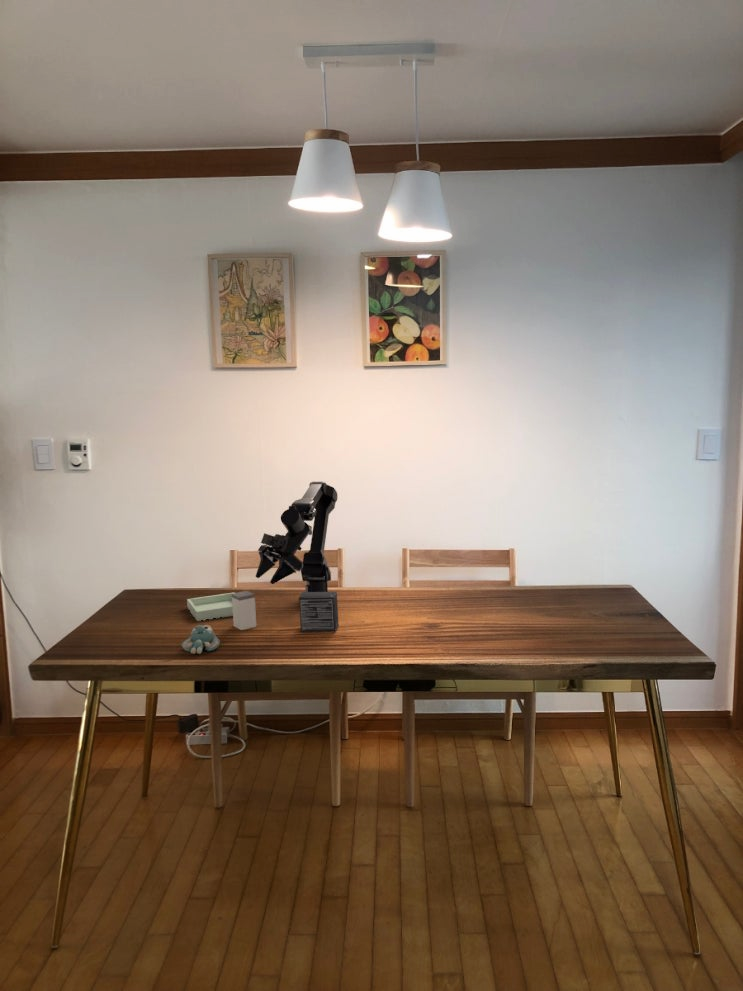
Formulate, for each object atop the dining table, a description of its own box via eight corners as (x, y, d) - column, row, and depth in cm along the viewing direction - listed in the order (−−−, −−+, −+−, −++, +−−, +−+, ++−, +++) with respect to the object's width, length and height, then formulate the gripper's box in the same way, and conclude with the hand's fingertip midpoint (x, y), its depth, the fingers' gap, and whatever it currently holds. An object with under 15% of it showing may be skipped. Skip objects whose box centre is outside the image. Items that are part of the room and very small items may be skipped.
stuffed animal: (173, 639, 213) (184, 617, 224) (177, 662, 216) (187, 639, 227) (214, 638, 213) (222, 616, 224) (216, 661, 215) (225, 638, 227)
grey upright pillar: (248, 622, 242) (246, 590, 240) (256, 626, 238) (254, 594, 236) (233, 626, 239) (231, 593, 238) (241, 630, 235) (239, 597, 234)
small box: (339, 625, 237) (337, 590, 235) (336, 632, 230) (334, 597, 229) (304, 625, 238) (302, 591, 236) (300, 632, 231) (298, 597, 230)
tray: (235, 601, 265) (234, 592, 265) (247, 613, 251) (246, 604, 251) (187, 608, 259) (187, 599, 259) (197, 621, 245) (196, 611, 245)
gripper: (261, 519, 249) (231, 559, 244) (292, 527, 233) (260, 570, 229) (285, 540, 254) (256, 580, 250) (316, 549, 239) (285, 592, 235)
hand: (263, 580), depth 241 cm, fingers open, 9 cm apart
